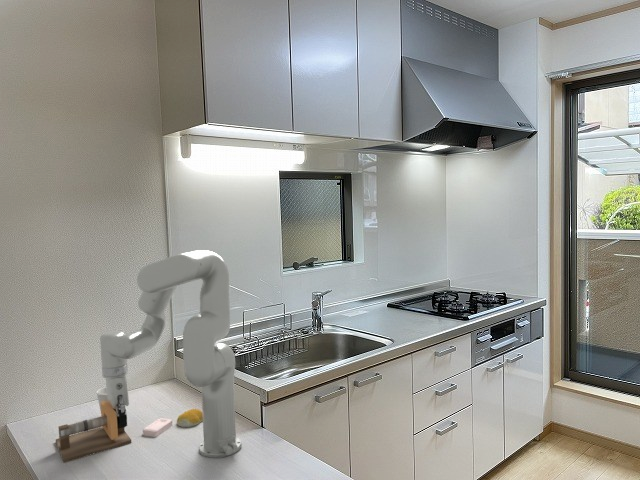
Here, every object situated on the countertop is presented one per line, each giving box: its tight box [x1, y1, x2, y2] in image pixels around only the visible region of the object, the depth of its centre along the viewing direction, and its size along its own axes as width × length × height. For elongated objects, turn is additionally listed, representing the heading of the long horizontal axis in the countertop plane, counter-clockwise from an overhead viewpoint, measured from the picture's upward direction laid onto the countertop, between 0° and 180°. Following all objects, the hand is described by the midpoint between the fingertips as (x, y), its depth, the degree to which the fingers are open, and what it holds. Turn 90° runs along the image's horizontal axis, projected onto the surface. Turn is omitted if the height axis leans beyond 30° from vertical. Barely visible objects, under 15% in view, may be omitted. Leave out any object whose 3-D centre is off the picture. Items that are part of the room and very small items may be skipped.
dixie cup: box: [95, 386, 120, 412], centre depth 175 cm, size 8×8×10 cm
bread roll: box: [176, 408, 203, 428], centre depth 169 cm, size 8×9×4 cm
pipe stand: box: [55, 411, 132, 463], centre depth 156 cm, size 16×19×8 cm
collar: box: [100, 401, 118, 440], centre depth 158 cm, size 13×2×8 cm, turn 35°
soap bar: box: [142, 418, 173, 438], centre depth 163 cm, size 5×9×2 cm, turn 162°
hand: (118, 422), depth 160 cm, fingers open, 9 cm apart
